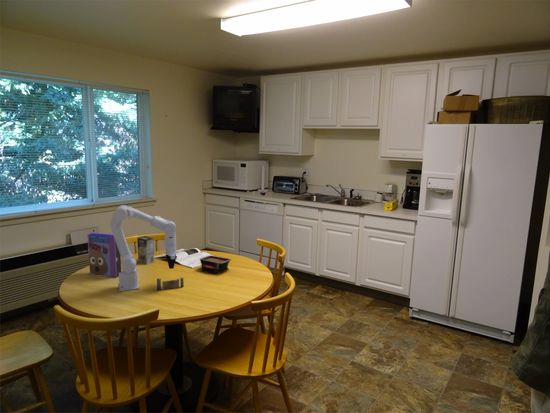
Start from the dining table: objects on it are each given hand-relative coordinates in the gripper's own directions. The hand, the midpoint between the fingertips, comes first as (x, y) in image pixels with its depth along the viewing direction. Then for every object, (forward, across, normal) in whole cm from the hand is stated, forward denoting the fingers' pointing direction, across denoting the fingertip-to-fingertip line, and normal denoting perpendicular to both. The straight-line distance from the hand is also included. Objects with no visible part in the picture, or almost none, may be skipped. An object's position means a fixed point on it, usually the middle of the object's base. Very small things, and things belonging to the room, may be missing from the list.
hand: (171, 268), depth 204 cm
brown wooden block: (+9, -5, +1) cm, 11 cm away
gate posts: (+9, -5, +1) cm, 11 cm away
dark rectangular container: (+10, +15, -28) cm, 33 cm away
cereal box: (+10, +28, +33) cm, 45 cm away
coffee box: (+10, +44, +9) cm, 46 cm away
